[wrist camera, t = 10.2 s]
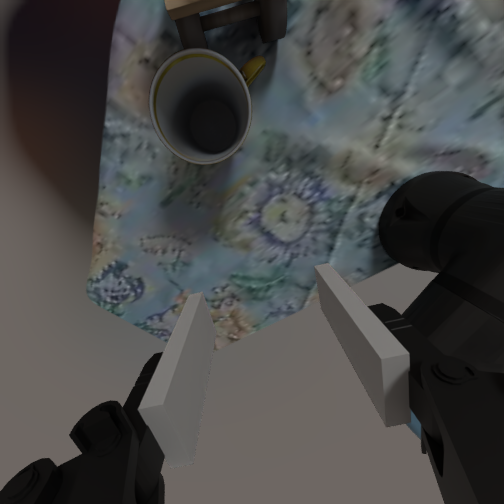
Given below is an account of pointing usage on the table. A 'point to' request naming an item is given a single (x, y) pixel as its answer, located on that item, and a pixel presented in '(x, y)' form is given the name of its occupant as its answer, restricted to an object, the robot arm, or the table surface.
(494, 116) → the table surface
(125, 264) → the table surface
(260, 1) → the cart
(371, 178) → the table surface
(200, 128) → the ceramic cup
